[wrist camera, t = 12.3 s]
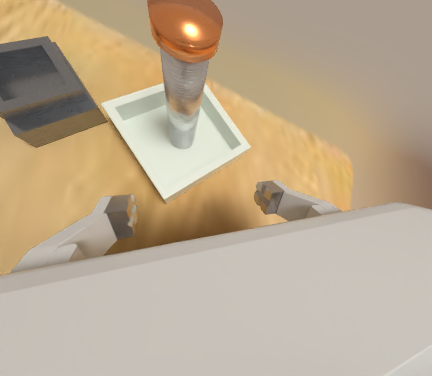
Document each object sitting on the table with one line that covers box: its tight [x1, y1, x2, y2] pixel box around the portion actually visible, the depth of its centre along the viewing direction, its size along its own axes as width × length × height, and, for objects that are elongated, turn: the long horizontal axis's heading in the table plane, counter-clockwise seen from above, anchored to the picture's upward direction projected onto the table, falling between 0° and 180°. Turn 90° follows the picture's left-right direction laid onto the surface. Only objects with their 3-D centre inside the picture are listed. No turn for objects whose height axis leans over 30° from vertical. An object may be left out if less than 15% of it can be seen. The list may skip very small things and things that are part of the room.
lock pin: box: [147, 0, 223, 149], centre depth 15 cm, size 4×4×13 cm
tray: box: [101, 83, 251, 204], centre depth 20 cm, size 13×13×4 cm
